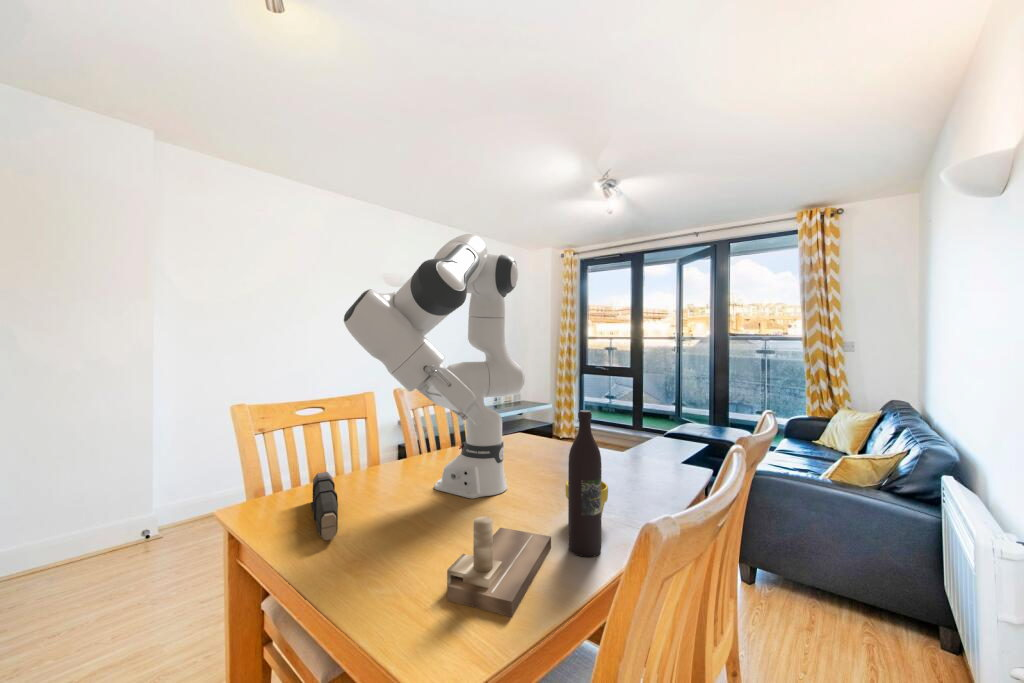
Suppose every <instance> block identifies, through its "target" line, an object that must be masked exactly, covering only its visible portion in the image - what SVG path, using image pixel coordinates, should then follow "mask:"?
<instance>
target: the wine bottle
mask: <svg viewBox="0 0 1024 683" xmlns="http://www.w3.org/2000/svg"><path fill="white" fill-rule="evenodd" d="M577 415H578V416H577V418H578V430H577V431H578V432H577V434H576V436H575V439H574V441H573V443H572V445H571V447H570V449H569V454H568V480H567V481H568V499H567V500H568V502H567V503H568V504H567V505H568V507H567V508H568V511H567V512H568V518H567V519H568V521H567V522H568V525H567V526H568V528H567V530H568V532H567V534H568V536H567V537H568V538H567V539H568V542H567V544H568V545H567V546H568V549H569V551H570V552H571V553H572V554H574V555H576V556H580V557H583V558H585V557H586V558H590V557H595V556H598V555H599V554H600V553H601V551H602V517H601V481H602V456H601V451H600V448H599V446H598V443H597V442H596V440H595V438H594V436H593V433H592V424H591V423H592V422H591V420H592V418H593V417H592V416H593V415H592V410H586V409H582V410H579V411H578V414H577Z"/></svg>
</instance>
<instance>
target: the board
mask: <svg viewBox="0 0 1024 683" xmlns="http://www.w3.org/2000/svg"><path fill="white" fill-rule="evenodd" d="M551 549H552V536H551V535H545V534H540V533H539V534H538V533H533V532H530V531H529V532H528V531H522V530H516V529H512V528H511V529H510V528H505V527H499V528H498V530H496V532H494V533H493V560H495V561H500V562H502V571H501V572H500V574H499V575H498V576H497V578H496V579H495V580H494V582H493V583H492V585H491V586H490V587H489V588H486V587H482V586H478V585H473V584H469V583H465V582H463V578H462V577H458V576H456V577H455V578H454V579H453V580H452V581H451V582H450V584H449V585H448V586H447V585H446V589H447V590H446V591H447V592H446V593H447V594H446V595H447V596H446V600H447V601H449V602H453V603H456V604H460V605H464V606H467V607H472V608H476V609H479V610H484V611H487V612H491V613H494V614H498V615H502V616H506V617H510V618H513V616H514V614H515V613H516V611H517V609H518V607H519V606H520V603H521V601H522V600H523V598H524V597H525V594H526V593H527V591H528V589H529V588H530V586H531V584H532V582H533V580H534V579H535V577H536V575H537V573H538V572H539V570H540V568H541V566H542V564H543V563H544V561H545V560H546V558H547V556H548V554H549V553H550V550H551Z"/></svg>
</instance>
